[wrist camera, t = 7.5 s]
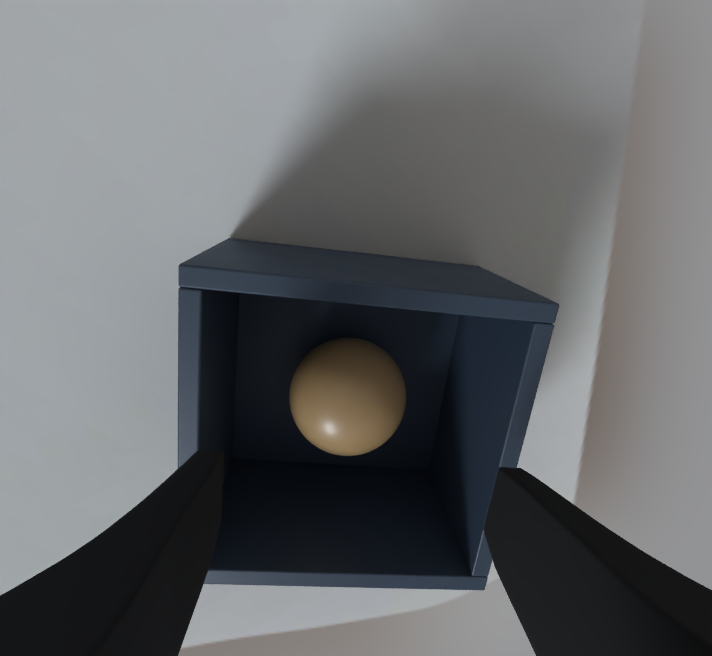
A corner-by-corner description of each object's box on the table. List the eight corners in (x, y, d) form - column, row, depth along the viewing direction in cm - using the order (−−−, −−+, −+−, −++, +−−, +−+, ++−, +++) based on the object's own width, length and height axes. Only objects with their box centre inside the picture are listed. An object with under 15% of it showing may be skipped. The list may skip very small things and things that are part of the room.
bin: (436, 475, 21) (484, 590, 15) (219, 463, 20) (176, 584, 14) (479, 265, 18) (560, 303, 12) (228, 237, 17) (177, 264, 11)
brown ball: (387, 421, 20) (407, 484, 15) (288, 415, 19) (281, 478, 15) (402, 328, 18) (428, 368, 14) (296, 318, 18) (291, 357, 14)
